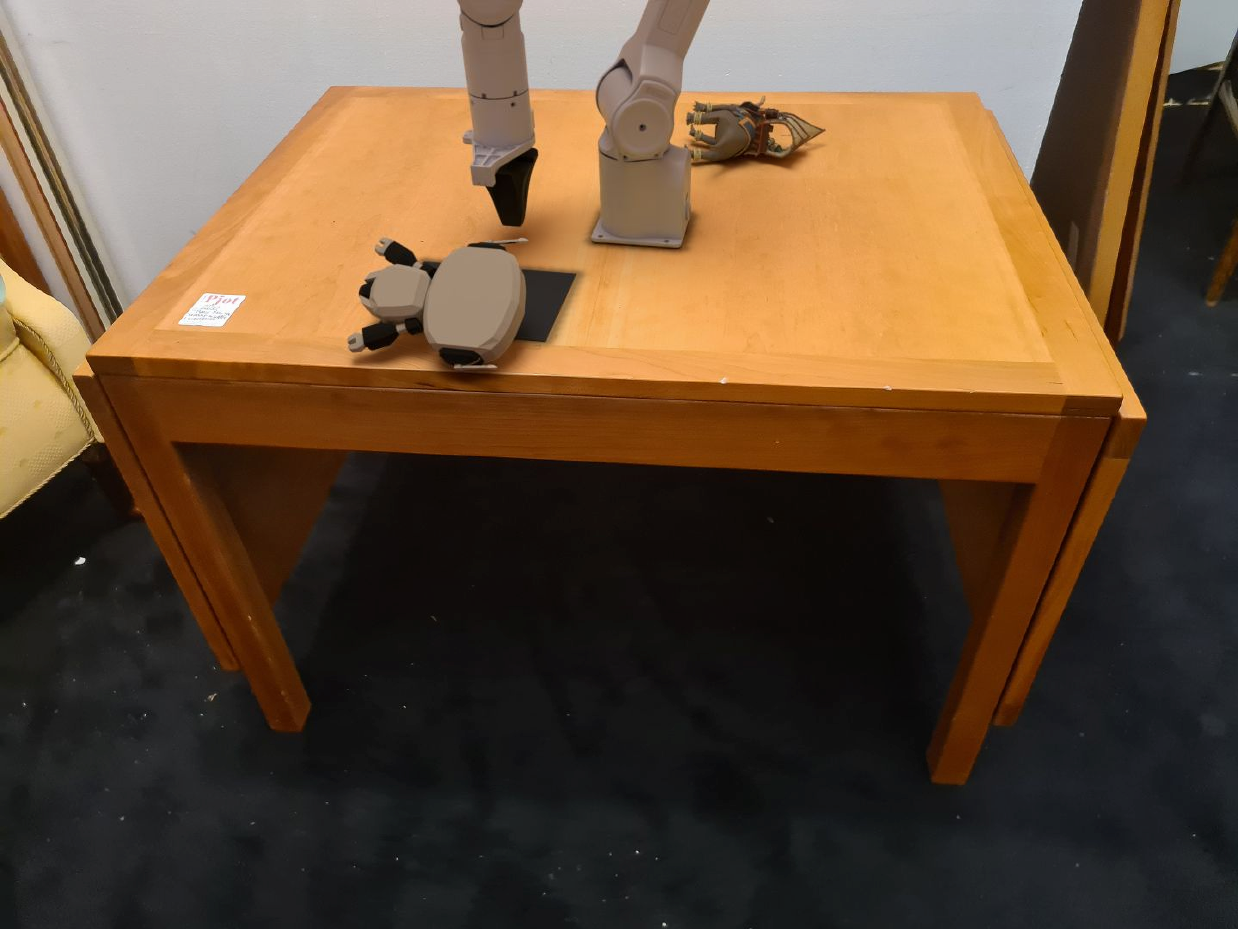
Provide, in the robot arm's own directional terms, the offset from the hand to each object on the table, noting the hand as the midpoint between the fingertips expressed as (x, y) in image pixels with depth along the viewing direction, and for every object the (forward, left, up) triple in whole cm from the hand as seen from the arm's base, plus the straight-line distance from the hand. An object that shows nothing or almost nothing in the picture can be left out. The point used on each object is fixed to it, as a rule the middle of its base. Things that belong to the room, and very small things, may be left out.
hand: (513, 223), depth 90 cm
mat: (0, +12, -2) cm, 12 cm away
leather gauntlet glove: (-23, -27, -2) cm, 35 cm away
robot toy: (+1, +18, 0) cm, 18 cm away
